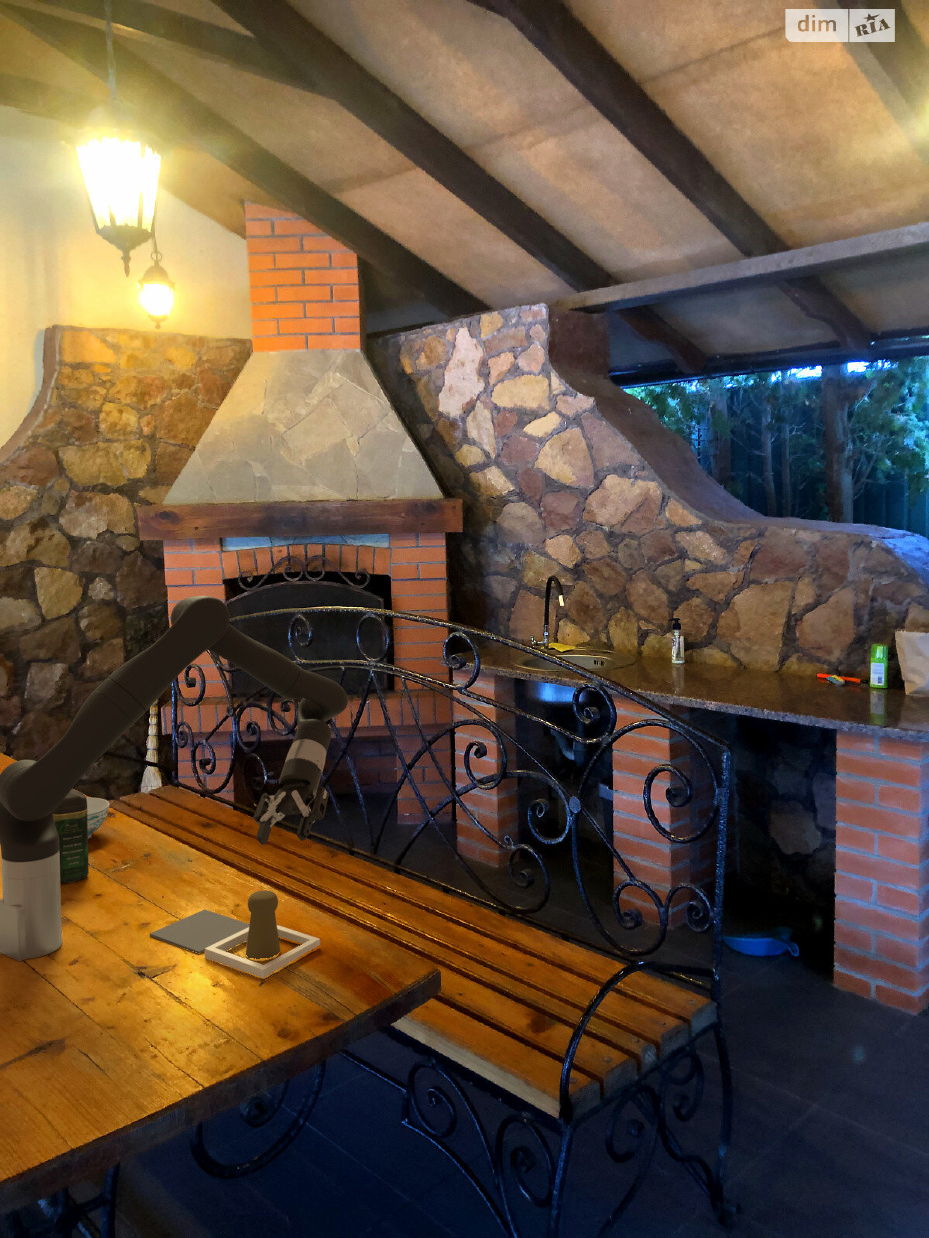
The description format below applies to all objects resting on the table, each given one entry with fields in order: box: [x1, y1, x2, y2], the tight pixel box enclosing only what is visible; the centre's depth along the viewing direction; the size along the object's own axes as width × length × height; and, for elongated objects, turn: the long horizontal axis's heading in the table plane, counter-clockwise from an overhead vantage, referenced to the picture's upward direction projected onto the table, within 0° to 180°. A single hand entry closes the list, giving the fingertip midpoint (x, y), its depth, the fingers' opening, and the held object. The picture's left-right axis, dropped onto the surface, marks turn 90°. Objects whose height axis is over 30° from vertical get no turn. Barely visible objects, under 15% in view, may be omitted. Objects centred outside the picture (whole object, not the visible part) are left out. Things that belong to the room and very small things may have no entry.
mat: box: [149, 909, 250, 954], centre depth 170 cm, size 13×13×1 cm
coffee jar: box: [53, 788, 90, 884], centre depth 195 cm, size 10×8×19 cm
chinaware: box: [86, 796, 110, 840], centre depth 220 cm, size 15×15×8 cm
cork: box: [245, 889, 281, 959], centre depth 161 cm, size 6×6×11 cm
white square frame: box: [204, 924, 321, 978], centre depth 162 cm, size 14×14×2 cm
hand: (281, 840), depth 169 cm, fingers open, 8 cm apart
